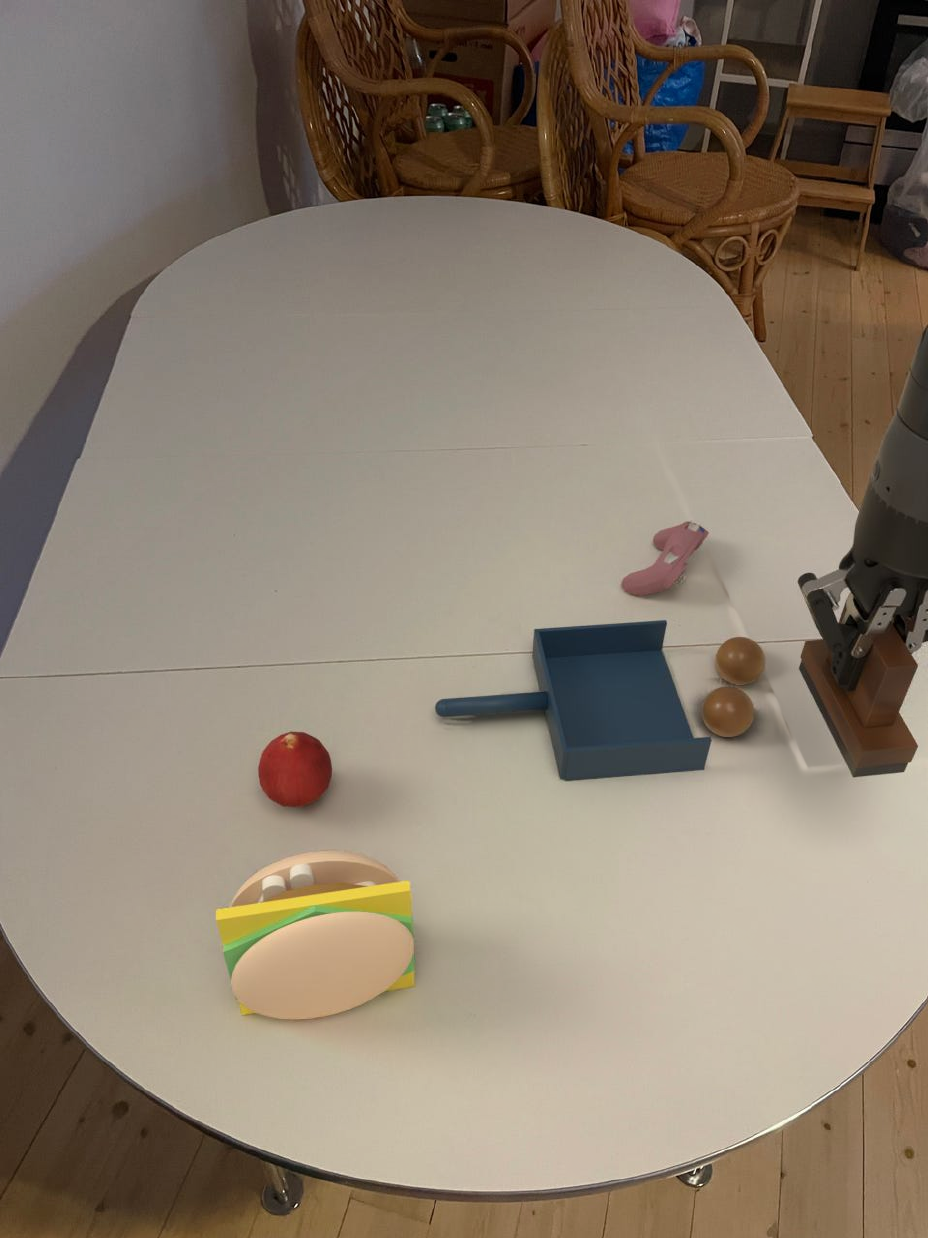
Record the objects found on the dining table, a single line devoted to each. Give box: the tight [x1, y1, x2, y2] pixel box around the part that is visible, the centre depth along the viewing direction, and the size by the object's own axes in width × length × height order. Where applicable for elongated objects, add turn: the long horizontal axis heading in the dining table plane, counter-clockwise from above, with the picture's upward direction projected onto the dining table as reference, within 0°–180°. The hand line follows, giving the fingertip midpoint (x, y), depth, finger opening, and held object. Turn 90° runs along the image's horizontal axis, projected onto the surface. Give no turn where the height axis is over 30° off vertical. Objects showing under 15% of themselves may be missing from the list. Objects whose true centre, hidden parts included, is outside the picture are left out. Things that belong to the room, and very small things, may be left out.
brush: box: [798, 598, 919, 778], centre depth 74 cm, size 4×11×9 cm, turn 7°
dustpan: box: [434, 619, 712, 782], centre depth 91 cm, size 22×15×4 cm
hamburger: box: [215, 850, 416, 1021], centre depth 70 cm, size 12×8×12 cm
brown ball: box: [714, 636, 766, 686], centre depth 95 cm, size 4×4×4 cm
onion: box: [257, 731, 333, 808], centre depth 83 cm, size 6×6×8 cm
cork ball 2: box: [701, 685, 755, 738], centre depth 90 cm, size 4×4×4 cm
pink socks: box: [621, 520, 709, 596], centre depth 105 cm, size 10×5×7 cm, turn 150°
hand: (863, 680), depth 75 cm, fingers closed on brush, 2 cm apart
